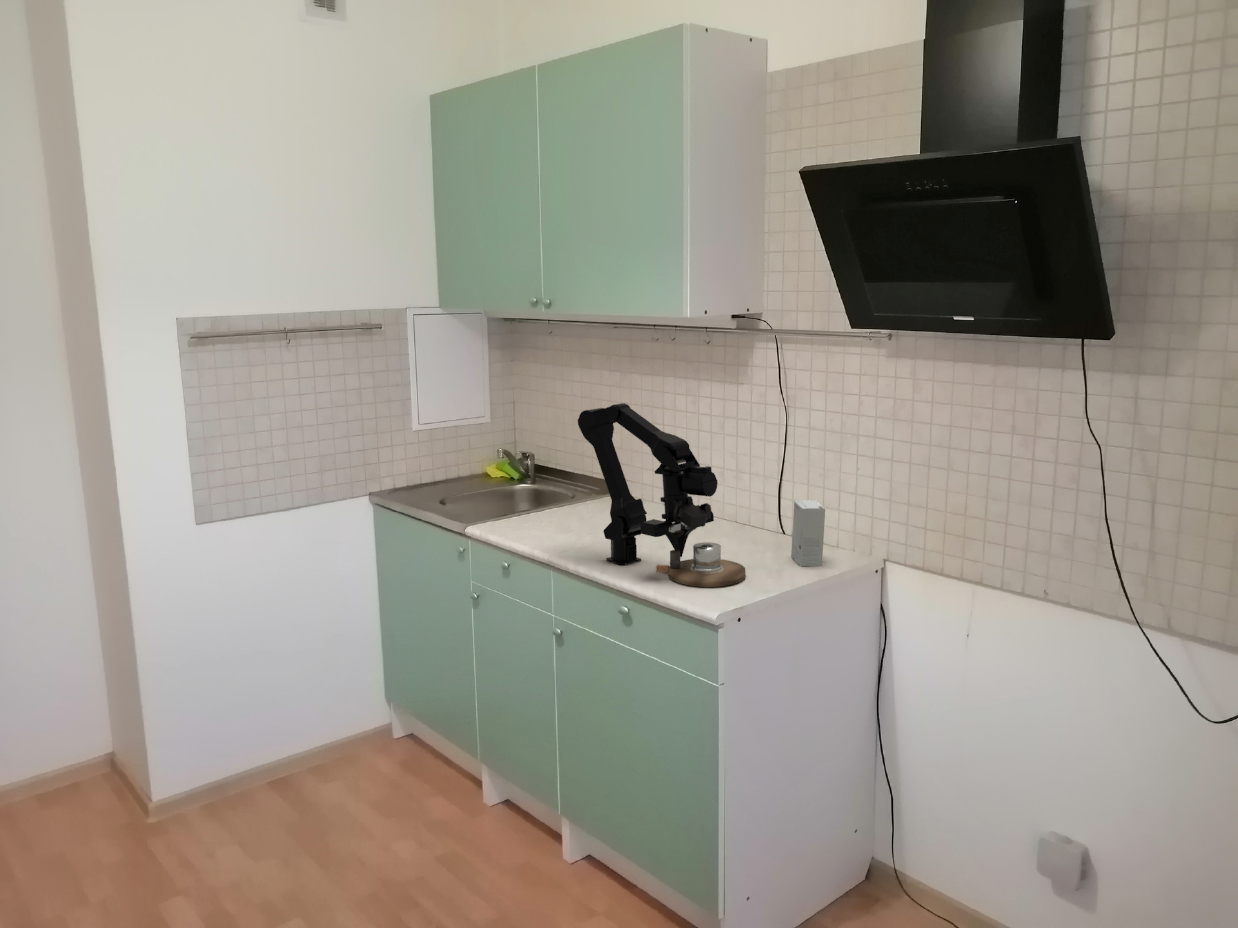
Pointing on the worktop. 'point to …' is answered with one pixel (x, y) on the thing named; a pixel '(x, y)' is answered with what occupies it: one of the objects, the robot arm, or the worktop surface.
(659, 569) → the pointer
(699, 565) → the cap
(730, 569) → the turntable
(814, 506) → the skincare box
